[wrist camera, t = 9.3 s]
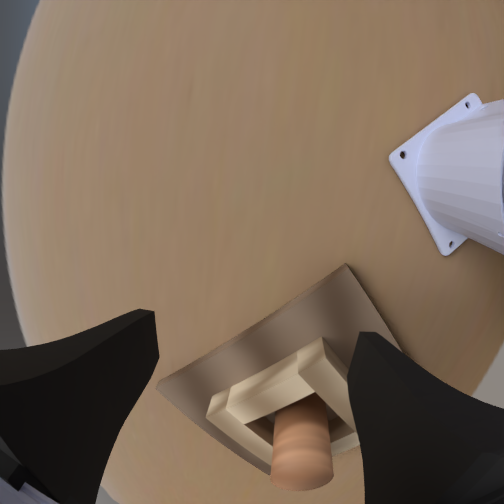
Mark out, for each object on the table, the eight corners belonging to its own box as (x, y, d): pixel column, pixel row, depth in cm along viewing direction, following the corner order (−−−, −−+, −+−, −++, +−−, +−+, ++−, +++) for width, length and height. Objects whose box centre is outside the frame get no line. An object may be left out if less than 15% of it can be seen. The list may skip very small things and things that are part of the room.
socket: (345, 263, 18) (358, 283, 15) (426, 394, 21) (439, 420, 17) (159, 381, 23) (144, 407, 19) (269, 468, 25) (267, 493, 22)
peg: (282, 386, 20) (279, 461, 13) (332, 393, 20) (343, 465, 13) (270, 418, 21) (264, 487, 15) (316, 425, 21) (320, 492, 14)
